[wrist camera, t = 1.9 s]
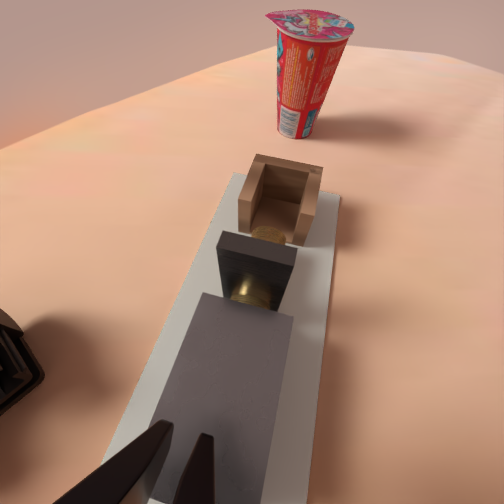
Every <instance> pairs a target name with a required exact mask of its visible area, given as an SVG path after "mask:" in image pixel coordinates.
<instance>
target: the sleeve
mask: <svg viewBox="0 0 504 504" xmlns="http://www.w3.org/2000/svg"><path fill="white" fill-rule="evenodd" d="M293 320H294V316H290V315H286V314H283V313H279V312H275V311H271V310H268V309H264V308H260V307H257V306H253V305H249V304H245V303H242V302H238V301H234V300H231V299H227V298H223V297H219V296H216V295H212V294H208V293H205V292H202V295H201V297H200V300H199V302H198V305H197V307H196V310H195V312H194V315H193V317H192V320H191V322H190V325H189V327H188V330H187V332H186V335H185V337H184V340H183V342H182V345H181V347H180V350H179V352H178V355H177V357H176V360H175V362H174V365H173V367H172V369H171V372H170V374H169V377H168V379H167V382H166V384H165V387H164V389H163V392H162V394H161V397H160V399H159V402H158V404H157V407H156V409H155V412H154V414H153V417H152V419H151V422H150V424H149V427H151V426H152V425H153V424H155V423H156V422H157V421H159V420H161V419H164V420H167V421H170V422H172V423H173V424H174V430H173V435H172V441H171V446H170V450H169V453H168V455H167V458H166V460H165V463H164V465H163V467H162V470H161V472H160V475H159V477H158V479H157V482H156V484H155V486H154V489H153V491H152V494H151V496H150V498H151V499H154V500H156V501H159V502H162V503H164V504H173V500H174V497H175V493H176V490H177V487H178V484H179V480H180V478H181V475H182V473H183V471H184V468H185V466H186V464H187V461H188V459H189V457H190V455H191V452H192V450H193V448H194V445H195V443H196V441H197V439H198V436H199V434H200V433H206V434H209V435H212V436H213V437H214V448H215V503H216V504H260V503H261V497H262V492H263V486H264V480H265V475H266V469H267V464H268V458H269V453H270V447H271V442H272V436H273V431H274V425H275V420H276V414H277V408H278V403H279V397H280V392H281V386H282V381H283V375H284V370H285V364H286V359H287V353H288V347H289V342H290V336H291V331H292V325H293ZM149 427H148V428H149Z"/></svg>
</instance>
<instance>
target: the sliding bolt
mask: <svg viewBox="0 0 504 504" xmlns="http://www.w3.org/2000/svg"><path fill="white" fill-rule="evenodd" d="M285 244H286V237H285V235H284V234H283V233H282V232H281V231H280V230H278V229H276V228H273V227H269V226H260V227H257V228H255V229H254V230H253V232H252V235H251V237H249V236H245V235H240V234H236V233H232V232H228V231H224V230H223V231H222V233H221V236H220V238H219V240H218V243H217V245H216V251H217V258H218V265H219V272H220V278H221V285H222V292H223V298H227V299H231V300H234V301H238V302H242V303H245V304H249V305H253V306H257V307H260V308H264V309H268V310H271V311H275V312H278V309H279V306H280V304H281V301H282V298H283V296H284V293H285V290H286V287H287V285H288V282H289V279H290V276H291V274H292V271H293V268H294V265H295V260H296V255H297V250H298V248H295V247H291V246H286V245H285Z"/></svg>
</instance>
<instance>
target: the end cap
mask: <svg viewBox="0 0 504 504" xmlns="http://www.w3.org/2000/svg"><path fill="white" fill-rule="evenodd" d="M23 334H24V333H23V331H22V330H21V328H20V327H19V326H18V325H17V323H16V322H15V321H14V320H13V319H12V318H11V317H10V316H9V315H8V314H6V313H5V312H4V311H3V310H2V309H0V416H1V415H2V414H3V413H4V412H6V411H7V410H8V409H9V408H11V407H12V406H13V405H14V404H15V403H17V402H18V401H19V400H20V399H22V398H23V397H24V396H25V395H27V394H28V393H29V392H30V391H32V390H33V389H34V388H35V387H37V386H38V385H39V384H40V383H41V382H42V381H43V379H44V376H45V373H44V371H43V369H42V367H41V366H40V364H39V363H38V361H37V359H36V358H35V356H34V354H33V353H32V351H31V350H30V348H29V346H28V345H27V343H26V342H25V340H24V339H23V338H22V335H23Z"/></svg>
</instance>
